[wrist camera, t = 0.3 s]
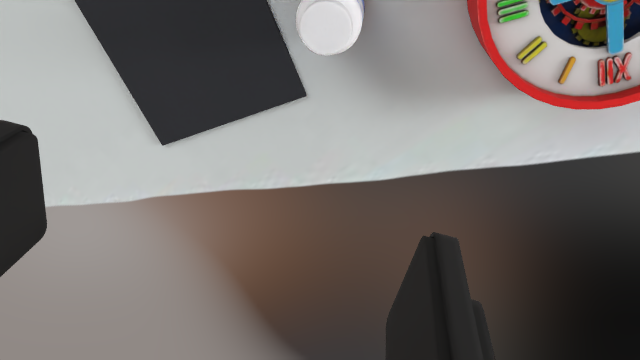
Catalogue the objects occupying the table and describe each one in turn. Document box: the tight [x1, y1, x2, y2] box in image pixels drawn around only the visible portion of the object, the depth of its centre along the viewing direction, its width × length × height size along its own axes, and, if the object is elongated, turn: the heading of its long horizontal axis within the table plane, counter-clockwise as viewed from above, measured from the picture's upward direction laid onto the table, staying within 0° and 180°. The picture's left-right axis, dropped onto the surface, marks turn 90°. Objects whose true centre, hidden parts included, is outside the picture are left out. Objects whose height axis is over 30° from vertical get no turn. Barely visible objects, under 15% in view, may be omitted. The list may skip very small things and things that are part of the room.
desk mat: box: [75, 0, 306, 146], centre depth 45 cm, size 22×18×1 cm
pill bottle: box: [296, 0, 365, 55], centre depth 39 cm, size 6×5×10 cm
